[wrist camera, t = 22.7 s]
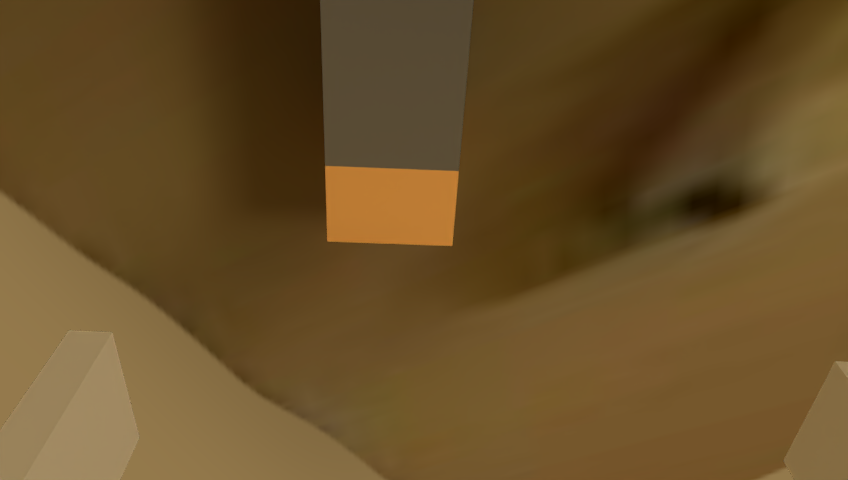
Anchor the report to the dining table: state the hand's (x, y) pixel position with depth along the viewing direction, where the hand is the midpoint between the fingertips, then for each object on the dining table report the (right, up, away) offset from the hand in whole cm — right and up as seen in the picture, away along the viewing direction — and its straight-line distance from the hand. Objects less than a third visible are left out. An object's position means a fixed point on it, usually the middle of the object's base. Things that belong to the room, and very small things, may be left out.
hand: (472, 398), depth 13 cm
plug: (-2, +13, +12) cm, 18 cm away
